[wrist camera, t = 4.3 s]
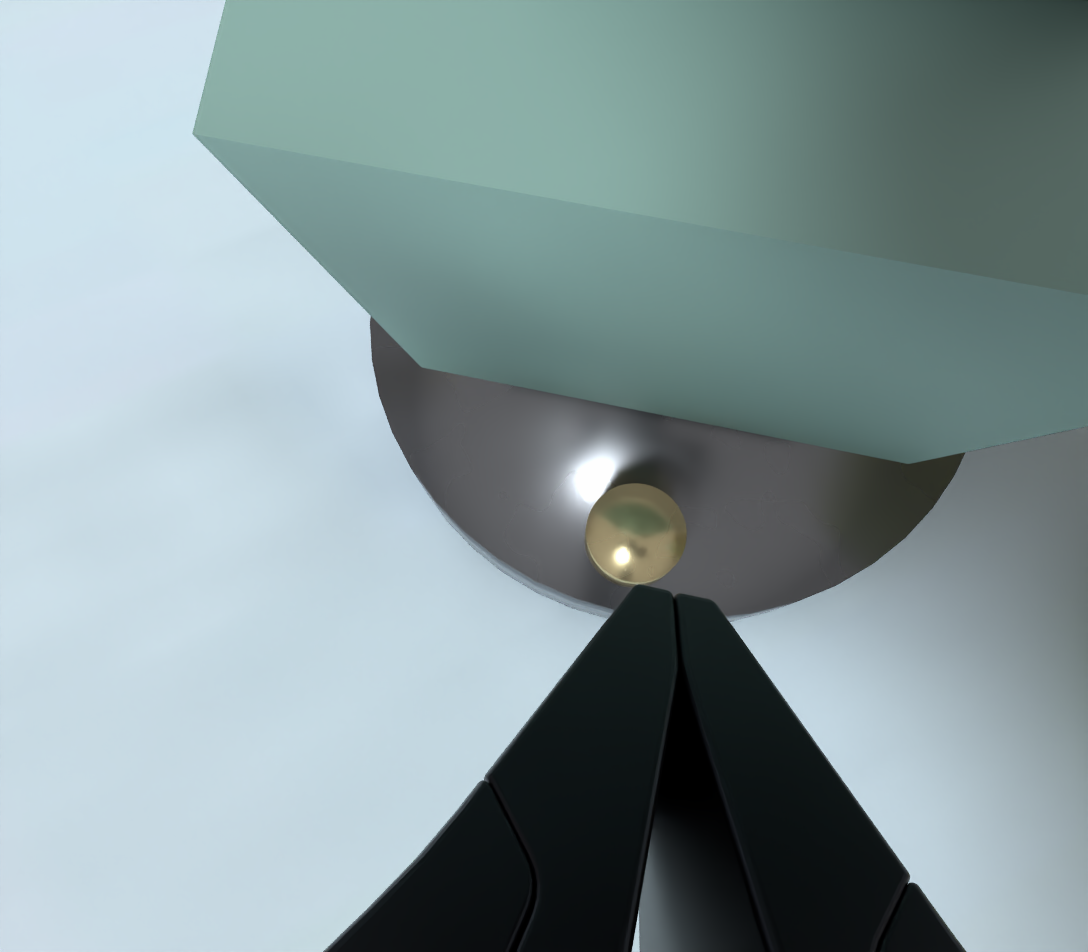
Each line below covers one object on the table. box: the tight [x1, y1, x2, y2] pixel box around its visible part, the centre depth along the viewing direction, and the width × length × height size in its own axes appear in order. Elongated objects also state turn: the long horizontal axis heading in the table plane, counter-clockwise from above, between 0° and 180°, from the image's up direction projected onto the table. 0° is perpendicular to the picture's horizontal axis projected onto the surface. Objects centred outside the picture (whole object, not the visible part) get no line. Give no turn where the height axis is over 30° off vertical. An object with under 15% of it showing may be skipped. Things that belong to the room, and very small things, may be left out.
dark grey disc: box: [370, 316, 965, 622], centre depth 17 cm, size 14×14×3 cm
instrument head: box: [193, 0, 1088, 464], centre depth 10 cm, size 8×10×11 cm
